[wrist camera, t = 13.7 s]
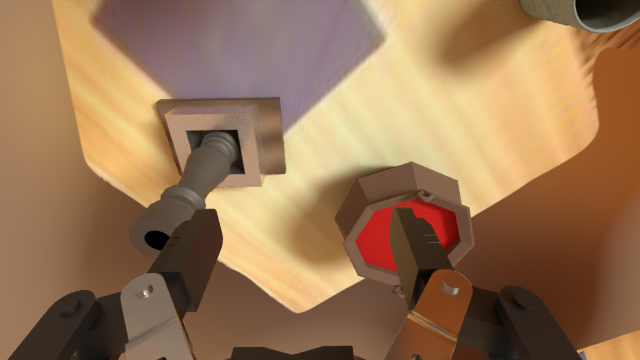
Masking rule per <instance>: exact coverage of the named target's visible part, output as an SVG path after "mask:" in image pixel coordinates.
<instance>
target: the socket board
mask: <svg viewBox="0 0 640 360" xmlns="http://www.w3.org/2000/svg"><path fill="white" fill-rule="evenodd" d="M156 103H157V107H158V110H159V113H160V116H161V119H162V122H163V125H164V129H165V132H166V135H167V138H168V141H169V144H170V147H171V150H172V154H173V157H174V160H175V163H176V166H177V169H178V172H179V175H180V176H182V175H183V173H182V170H181V167H180V163H179V160H178V157H177V154H176V150H175V147H174V144H173V141H172V138H171V134H170V131H169V128H168V125H167V122H166V118H165V114H167V113H168V112H169V111H171V110H172V109H173V108H175V107H176V106H177V105H195V104H252V103H257V104H258V112H259V119H260V127H261V134H262V142H263V149H264V157H265V164H266V174H285V173H286V163H285V152H284V141H283V130H282V119H281V108H280V97H272V98H216V99H160V100H159V101H157V102H156ZM200 132H201V136H202V139H203V138H204V137H205V135H206V134H207V133H208V132H209V130H200ZM242 160H243V158H242V152H240V154H239V156H238V157H237V158H236V160H235V161H242Z"/></svg>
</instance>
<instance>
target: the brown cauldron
mask: <svg viewBox="0 0 640 360" xmlns="http://www.w3.org/2000/svg"><path fill="white" fill-rule="evenodd" d="M406 206H410V207H411V208H412V209H413V212H414V214H415V216H416V218H424V219H425V220H426V221H428V222H429V223H430V224H431V225H432V227H433V229H434V231H435V233H436V236H437V237H438V239H439V241H440V243H441V245H442V247H443V249H444V251H445V253H446V255H447V257H448V259H449V260H450V262H451V264H452V266H453V267H454V266H455V265H456V264H457V263H458V262H459V261H460V260H461V259H462V258H463V256H464V255H466V254H467V252H468V251H470V249H471V248H472V247H473V246H474V245H475V243H474V236H473V229H472V222H471V216H470V209H469V207H467V206H464V205H462V204H461V198H460V192H459V185H458V180H455V179H453V178H450V177H448V176H445V175H443V174H441V173H438V172H436V171H433V170H431V169H428V168H426V167H424V166H421V165H419V164H416V163H414V162H409V163H406V164H402V165H399V166H396V167H393V168H390V169H387V170H384V171H381V172H378V173H375V174H372V175H369V176H366V177H363V178H360V179H357V181H356V183H355V184H354V186H353V188H352V190H351V191H350V193H349V195H348V196H347V198H346V200H345V201H344V203H343V205H342V206H341V208H340V210H339V212H338V213H337V215H336V217H335V220H336V223H337V225H338V227H339V229H340V231H341V233H342V235H343V237H344V239H345V241H344V243H343V246H344V248H345V250H346V252H347V254H348V256H349V258H350V260H351V262H352V264H353V266H354V268H355V270H356V272H357V275H358V276H361V277H364V278H368V279H371V280H375V281H378V282H381V283H385V284H388V285H392V286H395V288H394V290H393V291H392V292H393V293H394V294H396V295H397V296H399V297H400V298H402V299H403V298H404V297H405V296H404V293H402V294H400V293H399V292H397V291H398V290H399V289H400V290H402V291H403V289H402V286H401V282H400V279H399V275H398V272H397V268H396V265H395V262H394V258H393V255H392V251H391V248H390V244H389V229H390V222H391V216H392V210H393V207H406Z"/></svg>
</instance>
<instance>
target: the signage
mask: <svg viewBox="0 0 640 360" xmlns="http://www.w3.org/2000/svg"><path fill="white" fill-rule="evenodd" d="M578 354H579V355H580V357H581V358H582V360H587V359H586V356H585V353H584V351H583V352H580V353H578Z"/></svg>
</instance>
